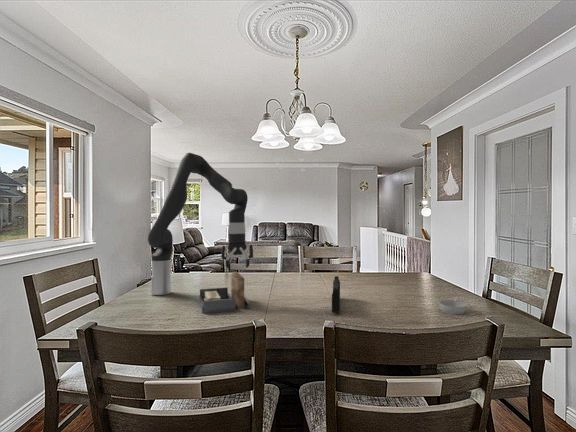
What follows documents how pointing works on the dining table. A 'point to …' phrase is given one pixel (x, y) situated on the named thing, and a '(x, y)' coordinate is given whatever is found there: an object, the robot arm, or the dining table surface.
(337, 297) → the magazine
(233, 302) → the grey open tray
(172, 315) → the dining table surface
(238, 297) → the walnut board
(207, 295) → the offcut stack
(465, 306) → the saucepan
